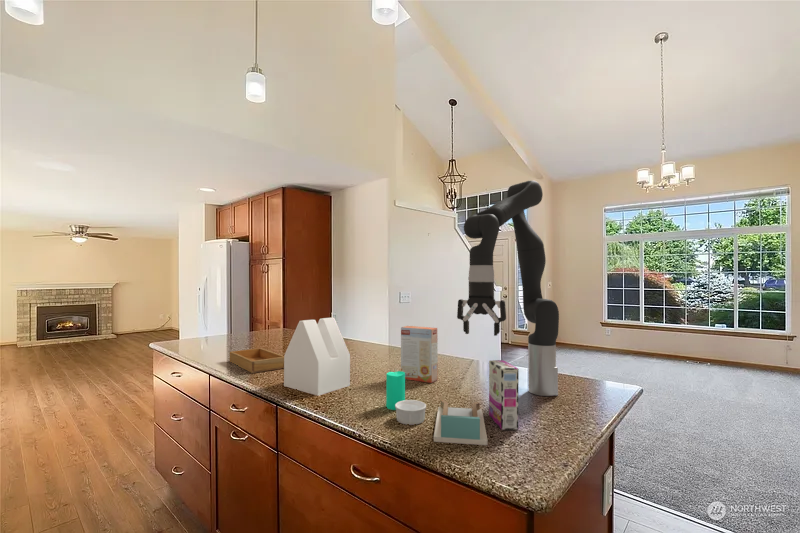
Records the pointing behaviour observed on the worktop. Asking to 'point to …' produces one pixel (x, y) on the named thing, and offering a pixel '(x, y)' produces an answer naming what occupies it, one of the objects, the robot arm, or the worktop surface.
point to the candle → (395, 388)
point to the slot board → (460, 425)
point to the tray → (257, 360)
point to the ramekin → (410, 412)
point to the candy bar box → (503, 394)
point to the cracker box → (419, 353)
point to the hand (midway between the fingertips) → (481, 334)
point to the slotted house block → (317, 358)
